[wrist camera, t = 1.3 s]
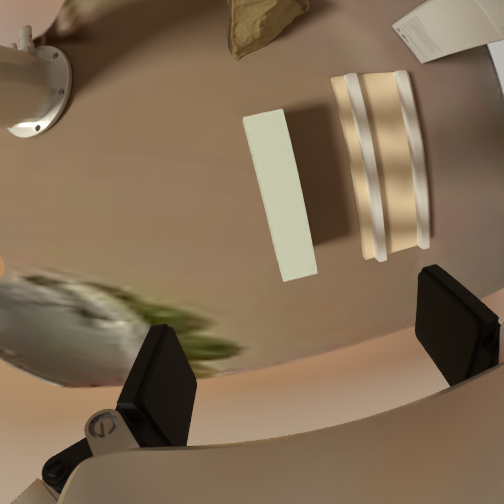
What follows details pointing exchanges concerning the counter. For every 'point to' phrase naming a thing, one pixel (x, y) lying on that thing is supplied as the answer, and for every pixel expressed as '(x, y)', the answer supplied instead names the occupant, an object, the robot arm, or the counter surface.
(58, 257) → the counter surface
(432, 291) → the robot arm
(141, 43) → the counter surface
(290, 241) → the door panel
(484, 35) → the skincare box
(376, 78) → the bottom track
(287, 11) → the rock
